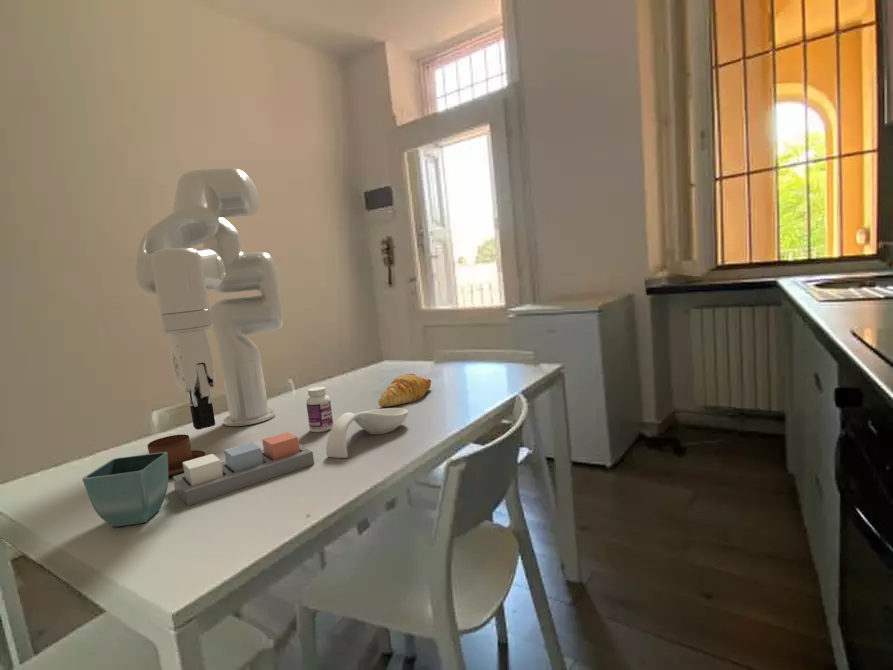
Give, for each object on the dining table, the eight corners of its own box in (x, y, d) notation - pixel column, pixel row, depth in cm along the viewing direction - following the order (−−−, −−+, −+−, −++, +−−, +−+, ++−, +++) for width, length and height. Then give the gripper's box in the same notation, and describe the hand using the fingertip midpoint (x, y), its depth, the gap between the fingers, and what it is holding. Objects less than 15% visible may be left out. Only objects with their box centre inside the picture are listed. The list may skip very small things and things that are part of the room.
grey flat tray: (175, 489, 93) (172, 476, 93) (293, 452, 106) (291, 441, 106) (188, 505, 85) (185, 491, 85) (314, 463, 99) (312, 451, 98)
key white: (185, 478, 92) (182, 462, 91) (215, 469, 95) (212, 453, 94) (192, 486, 88) (189, 469, 87) (223, 476, 91) (220, 459, 90)
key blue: (226, 465, 96) (224, 450, 96) (254, 457, 99) (251, 442, 99) (234, 472, 92) (232, 456, 92) (263, 463, 95) (260, 447, 95)
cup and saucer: (143, 468, 107) (138, 439, 106) (207, 454, 111) (202, 426, 111) (134, 488, 96) (128, 456, 95) (206, 472, 100) (200, 441, 100)
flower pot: (123, 509, 87) (112, 457, 85) (177, 502, 87) (168, 450, 86) (91, 536, 78) (80, 478, 77) (153, 528, 78) (142, 470, 77)
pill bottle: (327, 432, 118) (322, 390, 116) (306, 433, 119) (300, 392, 118) (337, 425, 123) (332, 385, 122) (316, 425, 124) (311, 386, 123)
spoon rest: (373, 421, 124) (370, 391, 123) (418, 422, 120) (415, 391, 119) (312, 458, 103) (307, 423, 102) (364, 461, 98) (359, 424, 97)
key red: (264, 454, 100) (262, 439, 100) (289, 446, 103) (287, 432, 103) (274, 460, 96) (271, 444, 96) (299, 452, 99) (297, 437, 99)
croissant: (390, 423, 132) (398, 397, 129) (362, 403, 136) (369, 377, 133) (438, 399, 149) (446, 376, 146) (411, 382, 153) (419, 359, 150)
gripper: (154, 324, 92) (172, 424, 95) (171, 327, 80) (191, 441, 83) (200, 318, 97) (216, 414, 99) (222, 320, 85) (239, 429, 87)
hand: (204, 426), depth 91 cm, fingers closed
